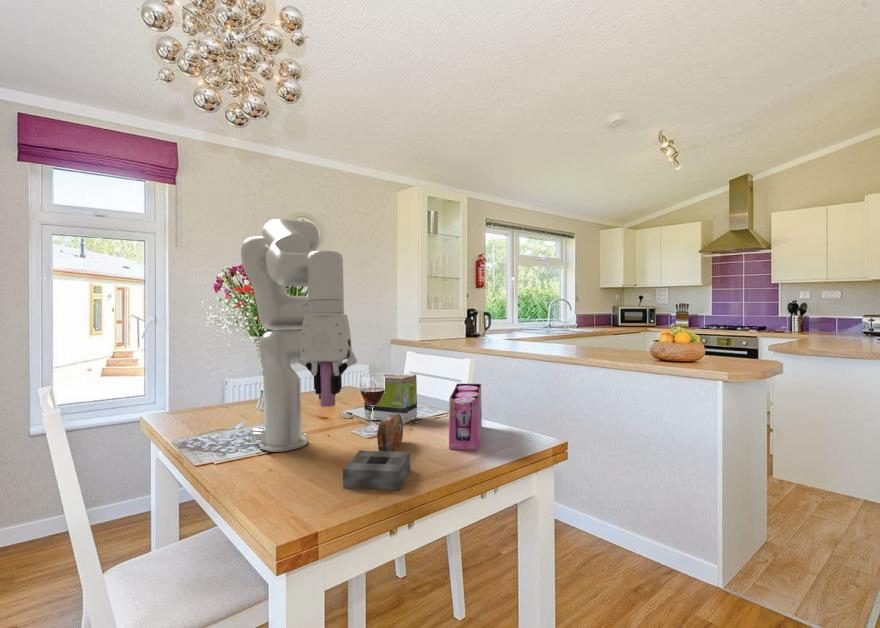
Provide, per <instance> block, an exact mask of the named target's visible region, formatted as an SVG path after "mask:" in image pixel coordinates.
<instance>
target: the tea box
mask: <svg viewBox="0 0 880 628" xmlns="http://www.w3.org/2000/svg"><path fill="white" fill-rule="evenodd" d="M381 373H382V374H383V375H384V377H385V393H384V394H383V397H382V399H381V400H380V402H379V403H378V404H377V405H375V406H374V408H373V411H374V419H376V420H382V421H383V420H384V419H386V418H387V417H388V416H389V415H397V414H399V415H400V416H401V418H402V423H403V425H405V424H406V423H409V422H411V421H410V419H412V418H414V417H416V416H417V417H418V392H417V391H418V389H417V386H418V385H417V374H414V373H397V372H395V373H393V372H381ZM363 402H364V404H363V405H364V420H365V421H372V420H371V413H372V407H371V406H370V405H368V404H367V403H366V402H365V401H364V400H363ZM382 421H381V422H382Z"/></svg>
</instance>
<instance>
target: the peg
mask: <svg viewBox="0 0 880 628" xmlns="http://www.w3.org/2000/svg"><path fill="white" fill-rule="evenodd" d="M332 376H333V364H332V362H320V387H321V394H320V407H323V408H325V407H326V408H327V407H333V406H336V394H335V395H333V394H332V390H331V377H332Z"/></svg>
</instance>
